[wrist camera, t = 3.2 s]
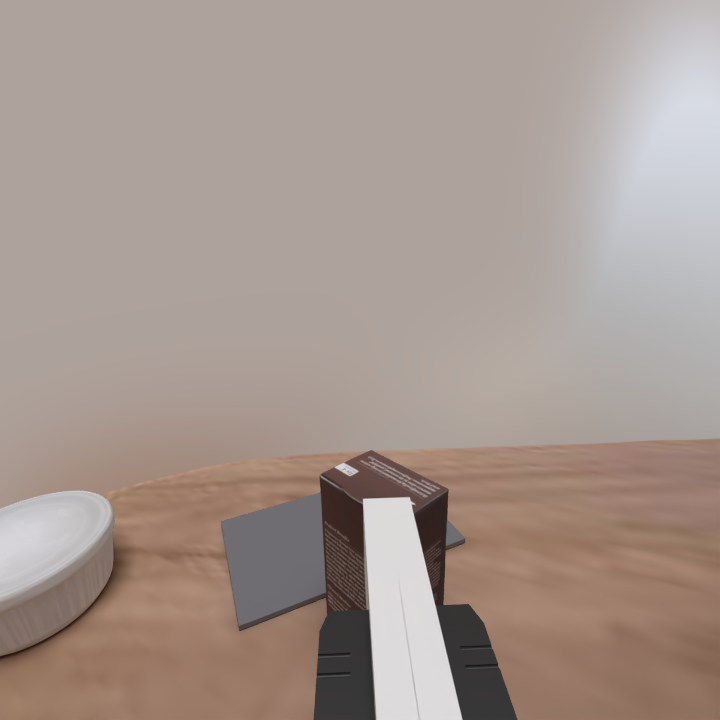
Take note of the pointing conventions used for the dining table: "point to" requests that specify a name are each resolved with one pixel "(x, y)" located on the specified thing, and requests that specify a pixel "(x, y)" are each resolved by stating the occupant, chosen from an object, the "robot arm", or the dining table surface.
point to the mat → (281, 558)
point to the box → (346, 528)
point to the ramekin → (51, 563)
